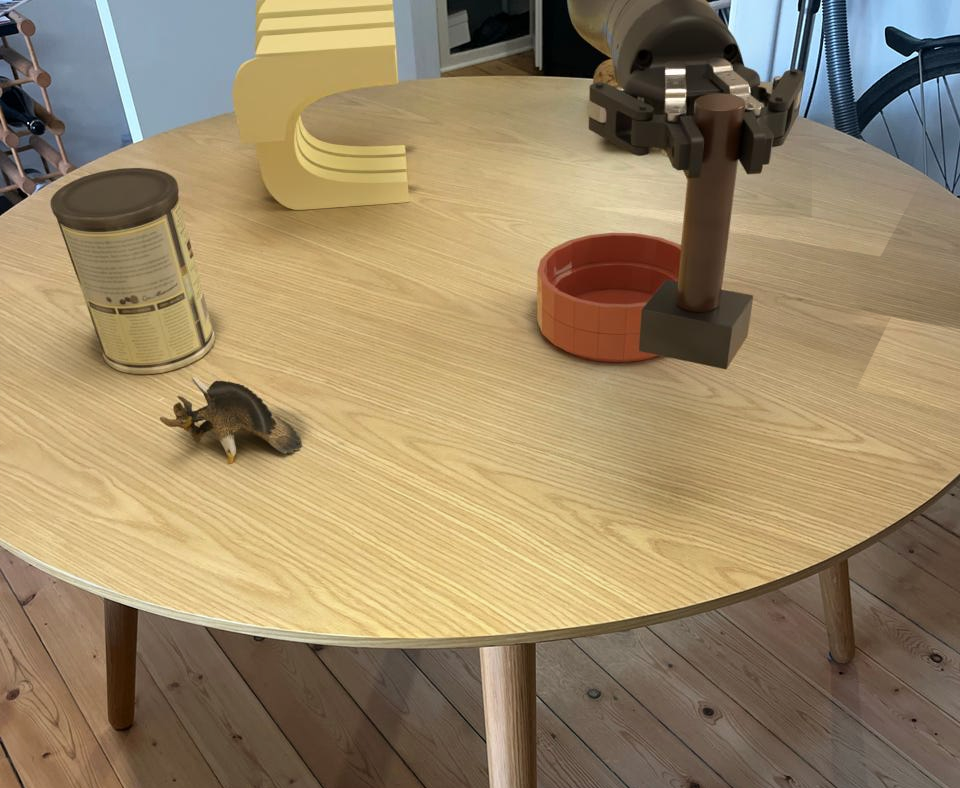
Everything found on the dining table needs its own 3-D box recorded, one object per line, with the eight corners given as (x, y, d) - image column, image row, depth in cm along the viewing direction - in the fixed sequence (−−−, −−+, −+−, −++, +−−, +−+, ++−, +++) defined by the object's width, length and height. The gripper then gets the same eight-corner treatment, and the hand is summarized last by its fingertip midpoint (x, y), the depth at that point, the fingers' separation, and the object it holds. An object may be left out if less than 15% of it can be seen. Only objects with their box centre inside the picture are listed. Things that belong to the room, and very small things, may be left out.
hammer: (747, 337, 68) (784, 94, 57) (726, 370, 65) (761, 121, 55) (662, 320, 70) (682, 82, 59) (638, 351, 67) (655, 108, 57)
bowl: (716, 305, 95) (723, 248, 91) (662, 380, 86) (667, 320, 82) (576, 278, 100) (577, 222, 96) (512, 346, 91) (510, 288, 87)
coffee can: (85, 343, 95) (31, 190, 85) (186, 307, 99) (146, 157, 89) (129, 388, 89) (77, 229, 79) (235, 348, 93) (198, 192, 83)
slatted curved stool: (278, 141, 129) (250, -22, 117) (404, 132, 130) (389, -31, 117) (261, 245, 108) (224, 59, 96) (411, 234, 109) (394, 47, 96)
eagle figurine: (169, 472, 78) (279, 454, 76) (149, 377, 77) (260, 357, 75) (212, 466, 85) (313, 450, 84) (194, 380, 84) (296, 361, 82)
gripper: (568, 3, 66) (603, 93, 54) (785, -11, 66) (869, 75, 54) (567, 126, 71) (598, 233, 59) (767, 113, 71) (840, 217, 59)
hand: (727, 157), depth 56 cm, fingers closed on hammer, 3 cm apart
